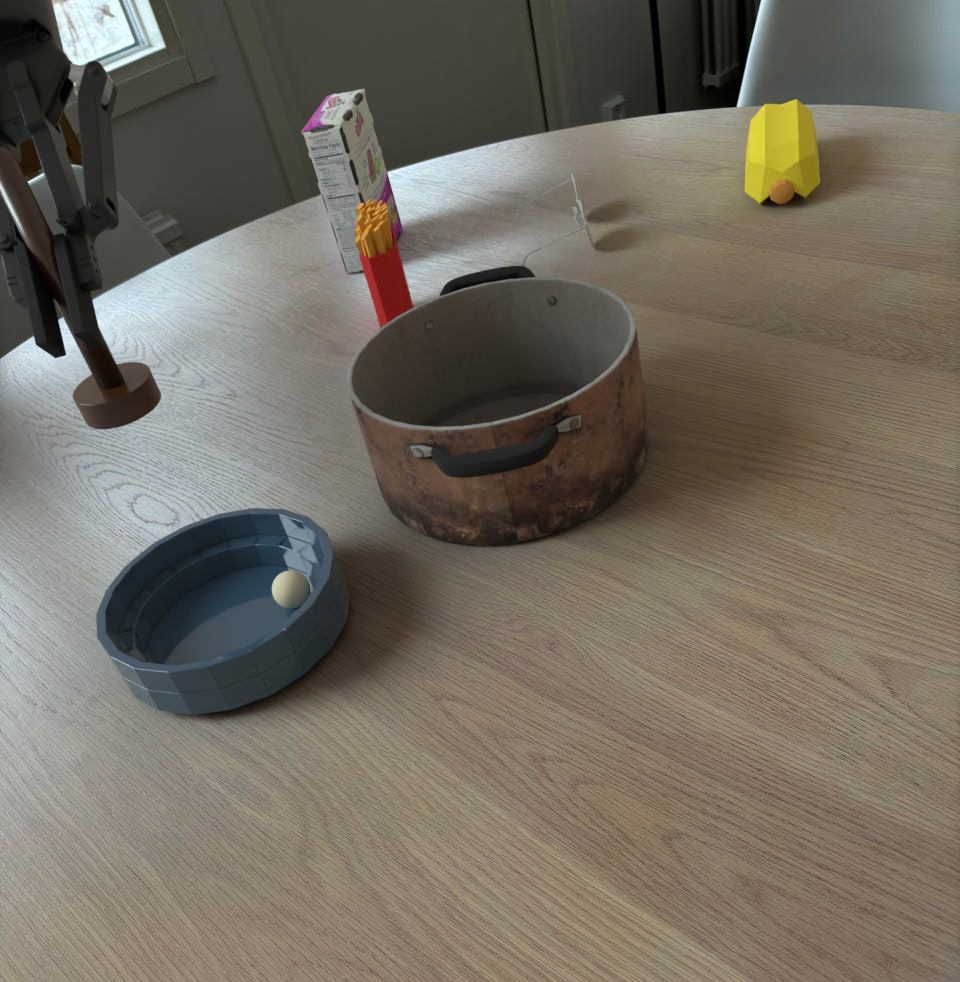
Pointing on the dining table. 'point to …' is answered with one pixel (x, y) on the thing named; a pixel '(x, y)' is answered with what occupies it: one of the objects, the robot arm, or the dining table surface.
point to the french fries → (381, 262)
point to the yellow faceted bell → (781, 153)
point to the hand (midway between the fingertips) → (69, 344)
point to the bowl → (222, 611)
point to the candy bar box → (348, 167)
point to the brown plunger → (111, 387)
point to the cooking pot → (503, 407)
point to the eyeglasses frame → (576, 212)
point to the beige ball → (291, 589)
